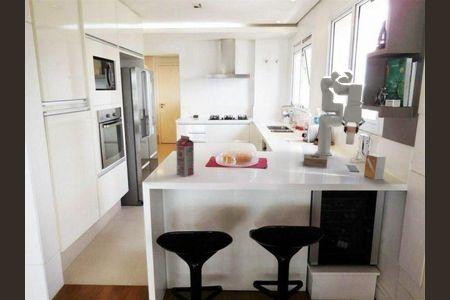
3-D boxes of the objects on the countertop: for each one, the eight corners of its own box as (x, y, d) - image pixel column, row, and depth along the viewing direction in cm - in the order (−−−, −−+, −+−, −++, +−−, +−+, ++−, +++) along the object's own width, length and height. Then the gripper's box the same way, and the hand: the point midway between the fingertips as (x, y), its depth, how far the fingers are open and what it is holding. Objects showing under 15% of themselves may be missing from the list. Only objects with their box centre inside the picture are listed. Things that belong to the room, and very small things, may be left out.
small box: (363, 175, 167) (366, 153, 165) (372, 175, 169) (374, 153, 167) (374, 179, 160) (377, 156, 157) (383, 178, 162) (386, 156, 159)
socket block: (303, 162, 197) (304, 153, 196) (324, 164, 194) (325, 155, 193) (303, 167, 184) (304, 158, 183) (326, 169, 180) (327, 159, 179)
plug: (344, 143, 184) (346, 126, 182) (353, 143, 182) (355, 126, 180) (345, 144, 178) (347, 126, 176) (355, 144, 177) (357, 127, 175)
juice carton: (185, 172, 166) (185, 134, 161) (193, 174, 162) (193, 136, 157) (176, 174, 161) (176, 135, 156) (184, 177, 156) (184, 137, 152)
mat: (335, 164, 193) (335, 163, 193) (355, 166, 190) (355, 165, 190) (338, 170, 178) (338, 169, 178) (359, 172, 175) (359, 171, 174)
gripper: (367, 104, 177) (364, 133, 181) (338, 103, 182) (335, 131, 185) (370, 104, 170) (366, 134, 173) (339, 103, 175) (336, 133, 178)
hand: (350, 132), depth 179 cm, fingers closed on plug, 5 cm apart
